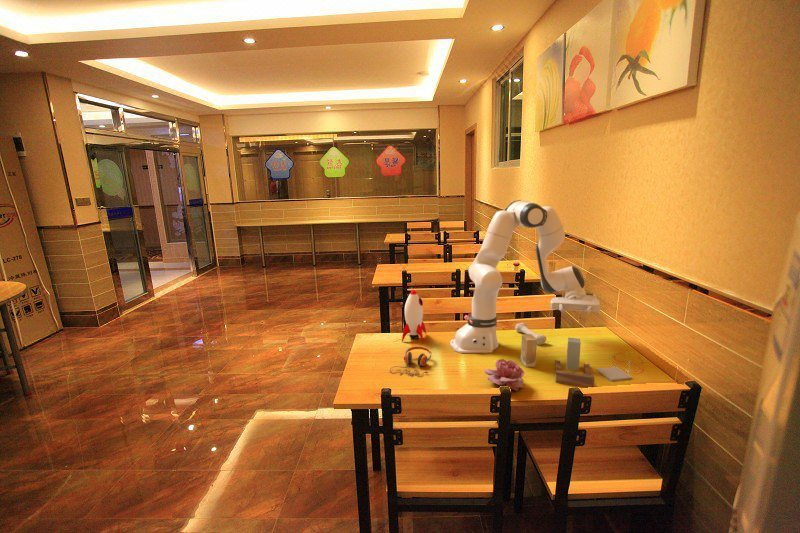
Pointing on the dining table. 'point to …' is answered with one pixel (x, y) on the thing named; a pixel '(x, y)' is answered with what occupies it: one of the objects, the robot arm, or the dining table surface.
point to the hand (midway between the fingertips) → (574, 311)
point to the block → (573, 354)
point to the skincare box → (528, 350)
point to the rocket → (414, 316)
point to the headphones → (421, 359)
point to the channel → (574, 376)
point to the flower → (506, 374)
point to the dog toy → (523, 328)
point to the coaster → (613, 373)
